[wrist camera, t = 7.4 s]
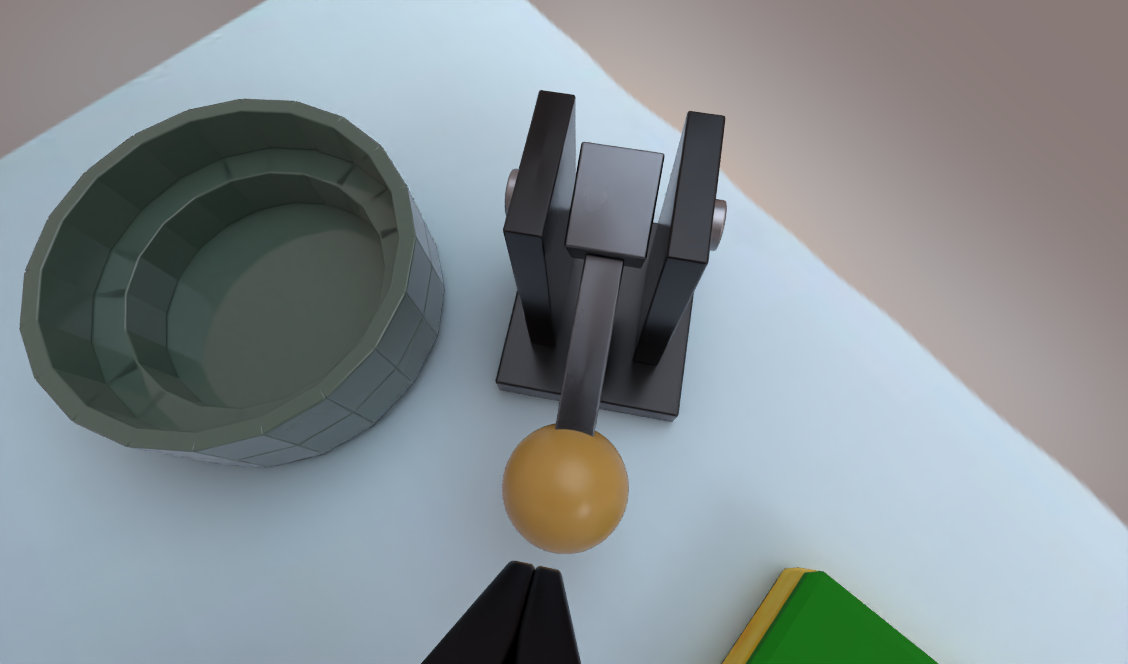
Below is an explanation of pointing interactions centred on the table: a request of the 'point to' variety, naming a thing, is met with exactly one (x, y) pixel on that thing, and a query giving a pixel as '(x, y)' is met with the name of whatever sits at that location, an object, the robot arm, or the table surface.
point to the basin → (234, 287)
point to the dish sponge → (819, 627)
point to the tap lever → (586, 361)
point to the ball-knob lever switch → (647, 295)
